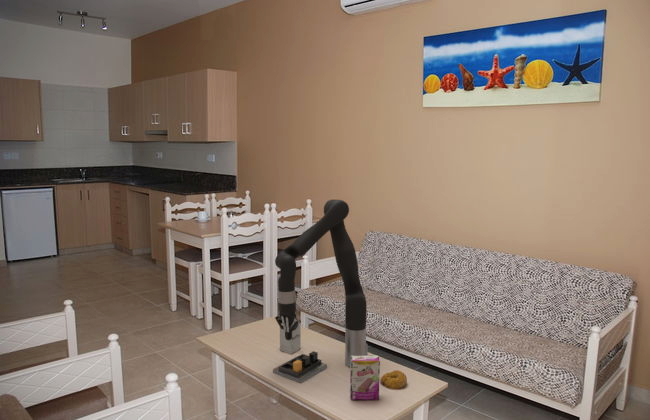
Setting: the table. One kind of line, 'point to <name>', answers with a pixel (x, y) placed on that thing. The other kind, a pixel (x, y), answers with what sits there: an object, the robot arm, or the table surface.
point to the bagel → (394, 379)
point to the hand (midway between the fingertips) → (288, 339)
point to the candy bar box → (364, 377)
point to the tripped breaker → (297, 366)
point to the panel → (309, 367)
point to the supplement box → (291, 341)
